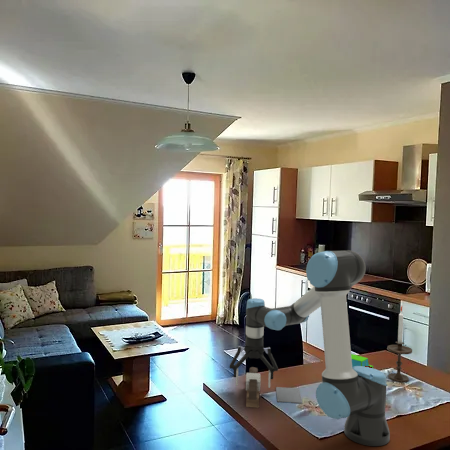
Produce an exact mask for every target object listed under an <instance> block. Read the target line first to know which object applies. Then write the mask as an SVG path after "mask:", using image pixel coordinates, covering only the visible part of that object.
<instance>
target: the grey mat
mask: <svg viewBox="0 0 450 450" xmlns="http://www.w3.org/2000/svg"><path fill="white" fill-rule="evenodd" d="M275 392H276V401H277V403H284V402H291V403H290V404H300V403H302V404H303V398H302V395H301V390H300V388H297V387H281V386H276V387H275Z"/></svg>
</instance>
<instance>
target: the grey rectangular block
mask: <svg viewBox="0 0 450 450" xmlns="http://www.w3.org/2000/svg"><path fill="white" fill-rule="evenodd" d="M249 379H257V391H259V392H261V382H262V381H261V373H259V372H258V373H249V372H246V374H245V391H246V392H247V391H249Z"/></svg>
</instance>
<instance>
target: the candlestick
mask: <svg viewBox="0 0 450 450" xmlns="http://www.w3.org/2000/svg"><path fill="white" fill-rule="evenodd" d="M397 327H398V329H397V341H395V344H389V345H387V348H386V349H387V350H388V351H389V352H390V353H393V354H397V361H395V364H396V365H397V366H396V367H395V369H397V370H396V372H392V373H389V374H388V376H387V378H388V379H389V380H390V381H393V382H396V383H408V382H409V381H410V378H409V376H407V375H406V374H402V373H401V370H402V365H403V362H402V361H401V360H402V355H411V354H412V353H413V349H412V347H409V346H406V345H405V344H406V343H405V342H403V332H404V314H403V305H401V306H400V313H399V314H398V326H397Z"/></svg>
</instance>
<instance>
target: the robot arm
mask: <svg viewBox="0 0 450 450" xmlns="http://www.w3.org/2000/svg"><path fill="white" fill-rule="evenodd" d="M305 271H306V274H305V275H306V279H307V280H308V281H309V284H310V285H312V286H313V287H311V288H310V289H309V290H308V291H307V292H305V293H304V294H303V295H302V296H301V297H299V298H298V299H297V300H295V301H294V303H292V304H291V305H286V306H283V307H274V308H272V307H267V306H265V305H266V304H265V300H264V299H262V298H256V297H255V298H253V297H252V298H249V299H247V301H246V308H245V316H246V317H245V343H244V344H245V345H244V346H241V345H238V347H237V351H236V353H235V354H234V356H233V358H232V360H231V362H230V364H229V369H232V370H233V378H235V386H236V387H238V386H239V368H240V366H241V365H243V363H244V362H245V361H246V360H248V358H249V359H257V360H258V359H260V360H261V361H262V362H263V364H264V365H265V366H266V367H267V369H268V383H267V388H270V389H271V380H273V379H274V372H278V371H279V367H278V365H277V362H276V360H275V358H274V356H273V354H272V352H271V347H270V346H268V347H264V333H265V331H264V329H265V327H266V328H268V329H270V330H275V331H281V330H282V329H283V328H285V327H286V326H292V325H299V324H303V323H305V322H307V321H308V320H309V317H310V316H311V314H312V313H314V312H315V311H316V310H318V309H319V308H320V313H321V314H320V315H321V326H322V338H323V349H324V350H323V351H324V361H325V362H324V363H325V369H324V370H323V371H322V372H321V381H322V382H321V383H319V384H318V386H317V387H316V389H315V397H316V402H317V404H318V407H319V408H320V409H321V410H322V411H323V413H324V414H325V415H326V416H327V417H329V418H331V419H334V420H341V419H346V420H345V422H344V426H343V432H344V434H345V436H346V437H347V438H348V439H350V440H351V441H353V442H354V443H357V444H360V445H363V446H369V447H380V446H381V447H382V446H385V445H387V444H388V443H389V442H390V437H391V434H390V432H391V431H390V428H389V424H388V422H387V418H386V403H387V401H386V400H387V386H388V384H387V376H386V374H385V373H384V372H383V371H381V370H379V369H376V368H374V367H373V368H369V367H364V366H355V367H353V368H352V358H351V354H352V349H351V337H350V325H349V314H348V302H347V295H348V293H350V291H351V288H352V287H354V286H355V285H356V284H358V283H359V282H360V281H362V279H363V278H364V276H365V274H366V262H365V260H364V258H363V257H362V256H361V255H360V253H358V252H356V251H353V250H349V249H347V250H325V251H320V252H316V253H315V254H313V255H312V256H311V257H310V259H309V260H308V262H307V263H306V269H305ZM243 351H244V352H245V354H243V356H242V357H241V358H240V359H238V358H239V357H240V353H242V352H243ZM264 352H265V354H267V356H268V358H269V360H270V362H271V364H272V365H271V364H270V362H269V361H268V360H267V358H266V357H265V356H264ZM237 360H238V361H237ZM236 361H237V362H236Z"/></svg>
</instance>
